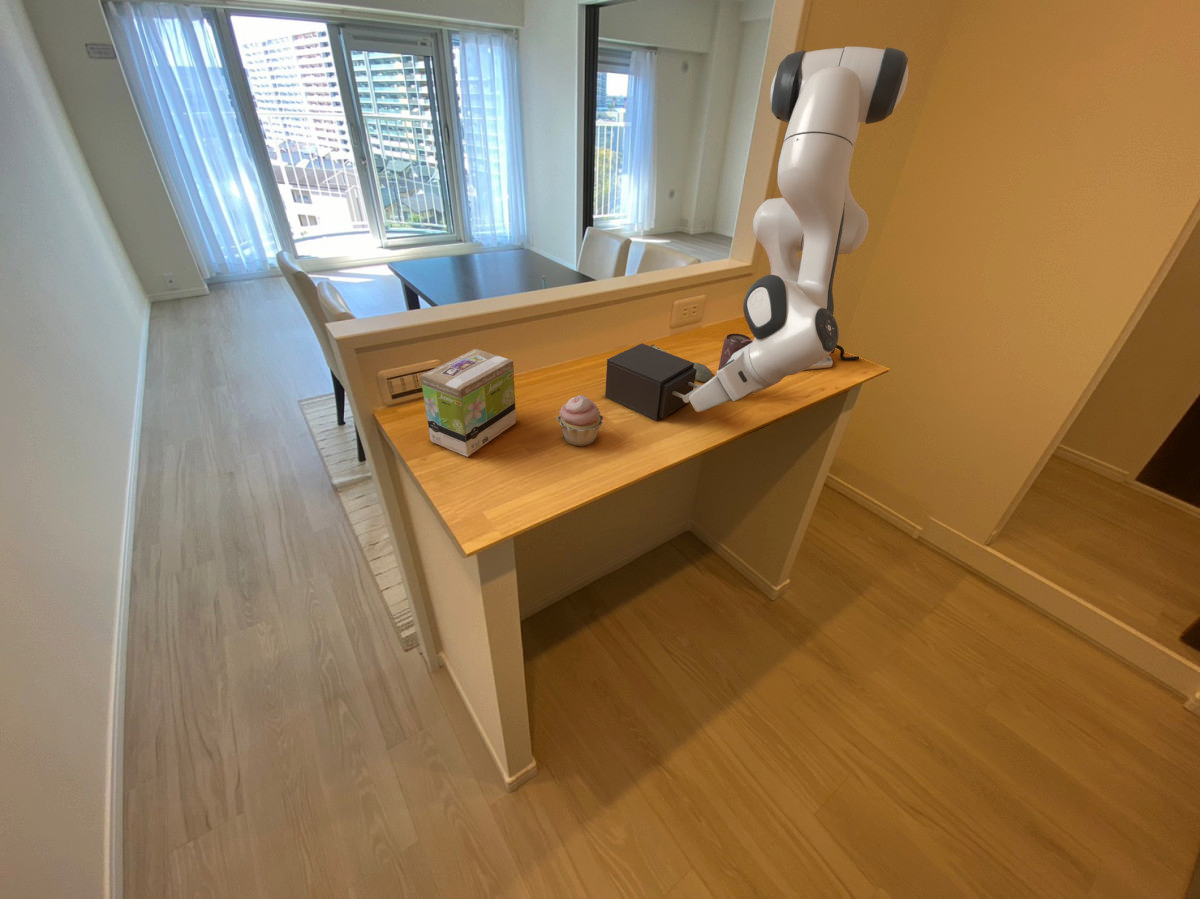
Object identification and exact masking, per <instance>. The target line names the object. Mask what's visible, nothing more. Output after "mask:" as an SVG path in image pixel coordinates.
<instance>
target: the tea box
mask: <svg viewBox="0 0 1200 899" xmlns="http://www.w3.org/2000/svg"><path fill="white" fill-rule="evenodd" d="M420 382H421V383H420V384H421V389H422V396H423V401H424V402H423V403H424V407H425V409H424V410H425V414H426V421H427V425H428V433H429V438H430V439H429V440H430V442H431V443H434V444H436V445H438V446H440V447H443V448H445V449H447V450H450V451H452V452H454V453H458V454H459V455H462V456H465V457H467V458H468V457H470V456H471V455H472V454H474V453H475V452H476V451H478V450H479V449H481V448H482V447H483V446H485V445H487V444H488V443H489V442H490V441H492V440H493V439H495V438H497V437H498V436H499V435H500V434H502V433H503V432H505V431H507V430H509V428H511V427H513V426H514V425H515V424H516V423H517V411H516V410H517V409H516V395H515V392H516V391H515V390H516V389H515V368H514V360H513V359H510V358H506V357H503V356H501V355H497V354H493V353H490V352H488V351H484V350H481V349H478V348H474V349H471V350H470V351H468V352H465V353H464V354H461V355H459V356H457V357H455V358H453V359H451V360H449V361H447V362H445V363H443V364H440V365H438V366H437V367H435V368H433V369H431V370H428V371H427V372H425V373H423V374H421V375H420Z"/></svg>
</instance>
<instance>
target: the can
mask: <svg viewBox="0 0 1200 899" xmlns="http://www.w3.org/2000/svg"><path fill="white" fill-rule="evenodd" d="M752 342H753V339H752V338H750V336H748V335H746V334H741V333H729V334H727V335H726V337H725V338H724V340H723V344H722V349H721V354H720V358H719V363H718V368H717V371H718V370H720V369H721V368H722V367H723V366H724V365H725V364H726V363H727V362H728V361H729V359H730V358H731V356H732V355H733V354H734V353H735V352H737V351H738V350H740V349H742V348H743V347H745V346H747V345H749V344H750V343H752Z"/></svg>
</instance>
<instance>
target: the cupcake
mask: <svg viewBox="0 0 1200 899" xmlns="http://www.w3.org/2000/svg"><path fill="white" fill-rule="evenodd" d="M558 414H559V416H557V417H556V418H555V419H556V421H558V423H559V426H560V427H561V431H562V433H563V437H564V439H565V441H566V442H567V443H568V444H570V445H571V446H576V447H585V446H589V445H591V444H593V443H594V442H595V441H596V439H597V436H598V433H599V429H600V428H601V426H602V424H603V420H604V416H603V415H601V410H600V409H599V407H598V405H597V404H596V403H595V402H594V401H593V400H591V399H590V398H589V397H587V396H586V395H582V394H578V395H577V396H574V397H571V398H569V400H568V401H567V402H566V403H565V404H563V405H562V406H561V408H560V411H558Z"/></svg>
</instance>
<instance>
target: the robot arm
mask: <svg viewBox="0 0 1200 899" xmlns="http://www.w3.org/2000/svg"><path fill="white" fill-rule="evenodd" d="M908 61H909V59H908V56H907V55H906V52H905V51H903V50H900V49H897V48H894V47H888V46H886V47H885V49H883V48H878V47H877V48H876V47H868V46H845V47H835V48H824V49H823V48H822V49H818V50H817V49H816V50H812V51H806V49H804V50H799V51H795V52H792V53H789V54H787V55H786V56H785V57H784V58H783V59H782V60H781V61H780V63H779V65H778V67H777V69H776V71H775V74H774V76H773V78H772V81H771V86H770V93H769V101H770V105H771V113H772V114H773V116H774V117H775V118H776V119H777V120H779V121H781V122H784V123H788V124H787V128H786V132H785V134H784V138H783V142H782V147H781V150H780V155H779V159H778V164H777V188H778V189H779V192H780V194H781V196H782V197H776V198H775V197H774V198H767V199H766V200H765V201H763V202H762V204H761V205H759V207H758V208H757V210H756V212H755V214H754V216H753V220H752V231H753V234H754V237H755V239H756V240H757V242H758V243H759V244H760V245H761V247H762V248H763V249H764V251H765V253H766V256H767V258H768V261H769V265H770V266H769V268H770V274H767V275H764V276H762V277H760V278H759V279H757V280H756V281H755V282H754V283H753V284H751V286H750V287H749V288H748V290H747V292H746V294H745V297H744V298H743V306H742V307H743V308H742V309H743V310H742V311H743V315H744V318H745V322H746V323H747V326H748V328H749V330H750V332H751V334H752V335H753V337H754V338H753V339H752V341H753V342H752V343H750V344H749V345H747V346H745V347H743V348H742V349H740V350H738V351H737V352H735V353H734V354H733V355H732V356H731V358H730V359H729V361H728V362H727V363H726V364H725V365H724V366H723V367H722V368H721V369H720V370H718V369H717V370H716V374H715V375H714V376H713V378H712V379H710V380H709V381H708V382H704V384H703V385H702V384H701V385H702V386H701V387H700V388H698V389H697V390H696V391H694V392H693V393H692V394H691V395H690V396H689V403H690V405H691V406H692V408H693V409H694V411H695V412H697V413H702V412H705V411H708V410H711V409H712V408H715V407H717V406H720V405H723V404H726V403H728V402H730V401H732V402H737V401H740V400H741V399H743V398H745V397H747V396H751V395H756V394H758V393H761V392H762V391H764V390H767V389H768V388H770V387H772V386H774V385H777V384H778V383H780V382H781V381H782V380H783V379H784V378H786V377H788V376H793V375H797V374H799V373H801V372H803V371H805V370H815V369H817V370H818V369H827V368H828V369H829V368H832V367H833V365H834V364H833V363H834V360H833V358H832V356H831V355H830V354H835V351H836V349H837V350H839V352H840V353H839V358H840V359H841V360H843V361H858V360H860V356H848V357H847V356H844V354H845V349H844V347H842V346H841V345H839V344H838V343H839V337H840V336H839V335H840V334H839V326H838V323H837V321H836V318H835V316H834V312H835V311H834V310H835V309H834V308H835V304H834V294H833V286H834V278H835V272H836V268H837V262H838V257H839V255H841V256H842V255H850V254H852V253H854V252H855V251H856V250H857V249H858V248H860V247H861V246H862V244H863V243H864V242H865V240H866V238H867V235H868V232H869V226H870V222H869V217H868V214H867V213H866V211H865V209H863V208H862V206H860V205H859V204H858V202H857V201H856V199H855V197H854V195H853V193H852V190H851V187H850V171H851V165H852V161H853V155H854V153H855V152H854V151H855V147H856V144H857V139H858V136H859V132H860V127H861V123H865V125H870V124H875V123H880V122H882V121H884V120H885V119H887V118H888V117H890V116H891V115H892V114H893V112H894V110H895V109H896V107H897V106H898V105H899V103H900V102H901V101H902V98H903V96H904V94H905V92H906V89H907V85H908V80H909V65H908ZM799 252H801V259H800V254H799Z"/></svg>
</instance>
